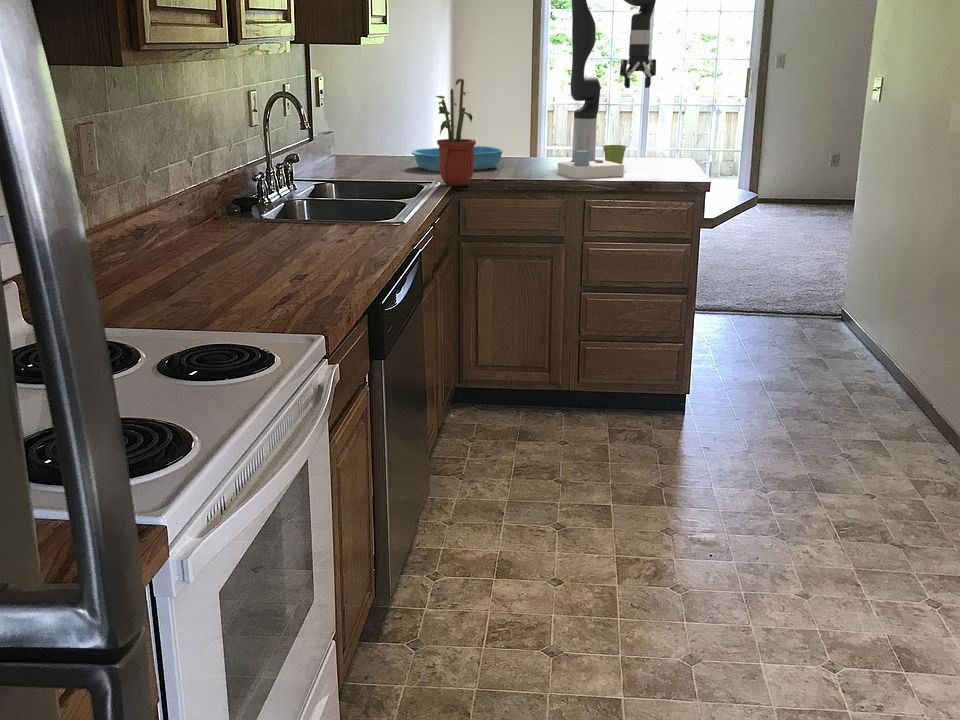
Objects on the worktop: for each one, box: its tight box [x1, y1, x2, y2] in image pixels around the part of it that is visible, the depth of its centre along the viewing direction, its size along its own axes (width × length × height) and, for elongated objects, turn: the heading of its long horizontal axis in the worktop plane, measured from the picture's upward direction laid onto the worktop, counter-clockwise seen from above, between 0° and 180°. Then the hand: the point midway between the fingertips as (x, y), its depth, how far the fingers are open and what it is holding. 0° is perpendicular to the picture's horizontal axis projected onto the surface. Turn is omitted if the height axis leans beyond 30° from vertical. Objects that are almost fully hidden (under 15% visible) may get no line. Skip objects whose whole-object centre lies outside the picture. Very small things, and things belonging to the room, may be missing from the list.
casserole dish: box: [411, 145, 504, 172], centre depth 374 cm, size 37×22×7 cm, turn 115°
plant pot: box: [601, 144, 628, 165], centre depth 373 cm, size 9×9×9 cm
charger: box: [573, 150, 590, 166], centre depth 352 cm, size 4×4×9 cm
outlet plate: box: [557, 159, 625, 179], centre depth 356 cm, size 14×20×5 cm
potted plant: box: [434, 78, 477, 187], centre depth 325 cm, size 17×16×35 cm
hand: (637, 87), depth 367 cm, fingers open, 8 cm apart
